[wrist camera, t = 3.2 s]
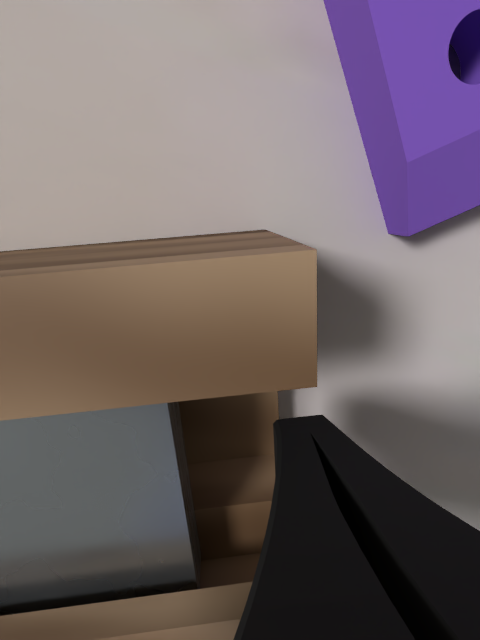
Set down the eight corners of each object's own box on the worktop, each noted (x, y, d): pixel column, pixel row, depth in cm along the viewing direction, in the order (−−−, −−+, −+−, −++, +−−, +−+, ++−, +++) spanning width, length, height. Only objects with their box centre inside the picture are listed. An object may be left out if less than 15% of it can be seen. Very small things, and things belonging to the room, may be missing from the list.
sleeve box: (278, 500, 14) (318, 672, 9) (-18, 536, 14) (-163, 745, 8) (264, 229, 11) (316, 249, 5) (-133, 262, 10) (-506, 320, 5)
